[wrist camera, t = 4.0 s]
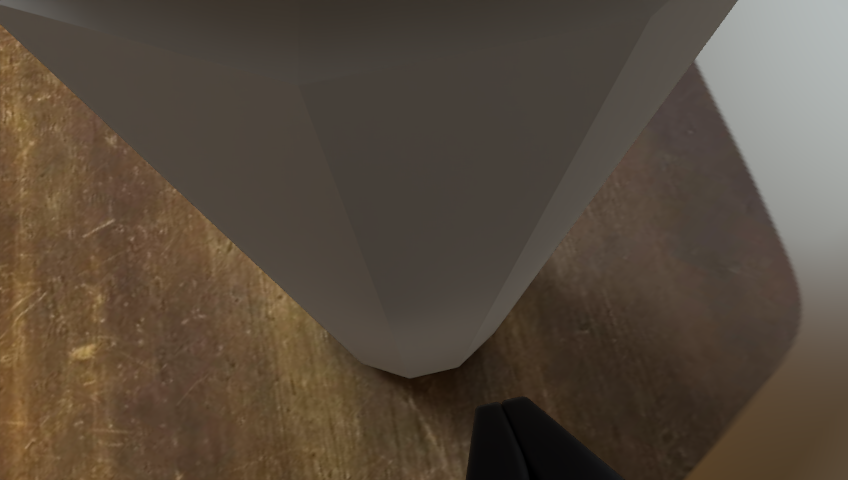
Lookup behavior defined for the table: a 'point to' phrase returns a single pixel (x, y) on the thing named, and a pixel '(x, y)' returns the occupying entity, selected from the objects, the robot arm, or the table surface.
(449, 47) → the water bottle
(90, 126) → the table surface
